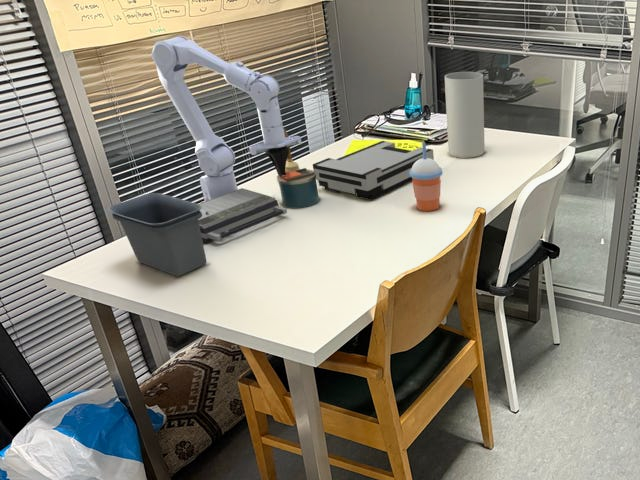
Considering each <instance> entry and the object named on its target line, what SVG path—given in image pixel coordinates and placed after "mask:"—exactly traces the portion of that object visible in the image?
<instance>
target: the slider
mask: <svg viewBox="0 0 640 480" xmlns="http://www.w3.org/2000/svg"><path fill="white" fill-rule="evenodd" d="M300 175H302V174H300V173H298V172H296V171H293V172H287V171H285V175H283V176H282V177H284V178H285V179H289V178H293V177H297V176H300Z"/></svg>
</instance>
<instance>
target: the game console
mask: <svg viewBox="0 0 640 480" xmlns="http://www.w3.org/2000/svg"><path fill="white" fill-rule="evenodd" d="M434 156H435V155H434V149H432V148H427V147H426V158H430V159H433V160H434V161H435V159H434ZM421 158H423V148H422V146H421V147H417V148H415V149H413V150H410V149H405V148H398V147H396V144H395V142H393V141H392V142H391V141H385V140H381V141H378V142H376V143H373V144H371V145H368V146H366V147H363V148H361V149H358V150H356V151H353V152H351V153H348V154H346V155H343V156H341V157H338V158H336V159H335V158H330V157H327V158H325V159H323V160H320V161H317V162H315V163H313V164H312V171H314V172H315V173H316V181H318V186H320V187H323V188H324V190H325V191H329V192H335V193H338V194H340V193H342V192H345V193H350V194H353V195H356V198H360V199H364V200H370V201H374V200H376V199H378V198H381V197H383V196H384V195H387V194H388V193H391V192H393V191H395V190H397V189H398V188H401V187H403V186H405V185H407V184H410V183H412V182H413V179H412V177H411V176H410V174H409V172H410V169H411V168H412V166H413V164H414V163H415V162H416V161H417V160H419V159H421Z"/></svg>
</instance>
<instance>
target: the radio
mask: <svg viewBox="0 0 640 480" xmlns="http://www.w3.org/2000/svg"><path fill="white" fill-rule="evenodd" d="M198 204H199V205H201V206H202V208H201V209H200V210H199V211H201V213H202V217H201V218H200V219H198V222H199V226H200V231H201V236H202V241H203V244H209V243H211V242H213V241H214V242H220V241H222V240H223V239H225V238H227V237H229V236H232V235H235V234H236V233H239V232H242V231H244V230H247V229H249V228H251V227H254V226H256V225H259V224H261V223H264V222H267V221H268V220H271V219H273V218H276V217H278V216H280V215H286V214H288V210H287V207H282V206H280V204H279V202H278V200H277V199H276V197H274V196H270V195H267V194H263V193H260V192H257V191H253V190H250V189H246V188H243V187H241V188H238V190H236V191H233V192H230V193H227V194H224V195H222V196H219V197H216V198H213V199H211V200H208V201H205V200H204V201H202V202H200V203H198Z"/></svg>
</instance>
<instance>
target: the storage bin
mask: <svg viewBox="0 0 640 480" xmlns="http://www.w3.org/2000/svg"><path fill="white" fill-rule="evenodd" d="M201 208H202V206H201V205H199V203H196V202H193V201H190V200H189V201H188V200H185V199H181V198H178V197H175V196H171V195H169V194H168V195H167V194H164V193H159V192H152V193H147V194H143V195H139V196H137V197H134V198H131V199H128V200H125V201H122V202H119V203H115V204H113V205H111V206H109V207H108V209H107V211H108V212H109V213H111V216H112V218H113V219H114V220H116V221H117V222H118V221H119V222H120V225H121V227H122V229H123V231H124V233H125V235H126V238H127V240H128V242H129V244H130V247H131V249H132V251H133V254H134V255H135V258H136V260H137V262H139V263H141V264H144V265H146V266H149V267H152V268H154V269H157V270H160V271H162V272H165V273H167V274H171V275H173V276H176V277H177V276H178V277H179V276H183V275H184V274H187V273H189V272H191V271H193V270H196V269H198V268H200V267H202V266H204V265H206V264H207V257H206V252H205V247H204V242H203V241H202V236H201V231H200V226H199V222H198V219H200V218H201V217H202V213H201V211H199V210H200V209H201Z"/></svg>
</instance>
